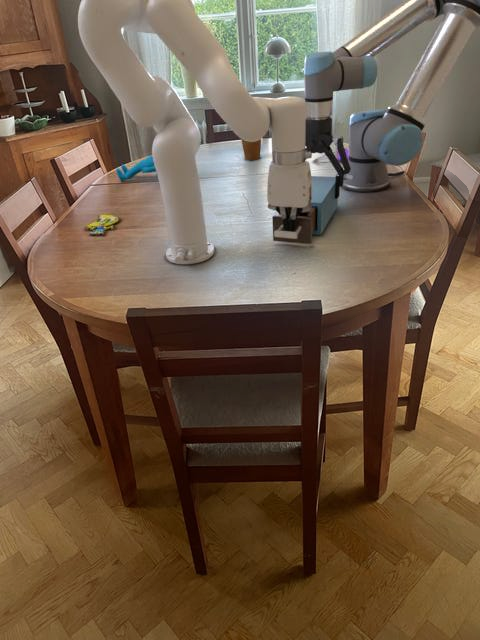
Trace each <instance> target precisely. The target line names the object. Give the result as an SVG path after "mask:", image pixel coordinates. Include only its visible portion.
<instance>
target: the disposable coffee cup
mask: <svg viewBox="0 0 480 640" xmlns="http://www.w3.org/2000/svg"><path fill="white" fill-rule="evenodd" d="M240 140H241V144H242V150H243V155H244V159H245V160H248V161H252V160H258V159H260V158H261V147H262V146H261V145H262V138H261V139H260V140H258V141H255V142H248V141H245V140H243V139H241V138H240Z"/></svg>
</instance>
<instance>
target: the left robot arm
mask: <svg viewBox="0 0 480 640" xmlns="http://www.w3.org/2000/svg"><path fill="white" fill-rule="evenodd" d="M194 6H195V5H194V4H193V1H192V0H81V1H80V3H79V7H78V13H77V28H78V33H79V37H80V40H81V43H82V45H83V47H84V50H85V51H86V53H87V55H88V56H89V58H90V59H91V61H92V62H93V64H94V65H95V67H96V68H97V69H98V71H99V72H100V73H101V75H102V77H103V78H104V79H105V81H106V83H107V84H108V86H109V88H110V90H111V91H112V92H113V94H114V95H115V97H116V98H117V99H118V101H119V102H120V104H121V105H122V106H123V108H124V110H125V111H126V112H127V115H128V116H129V117H130V119H131V120H132V121H133V122H134V123H135V124H137V125H138V126H140V127H142V128H151V127H152V128H153V130H154V131H155V132H156V135H155V137H154V139H153V140H152V141H153V142H152V147H151V155H152V156H153V161H154V165H155V168H156V172H155V173H156V174H157V175H158V177H157V178H158V183H159V188H160V194H161V199H162V204H163V210H164V216H165V222H166V223H165V224H166V228H167V234H168V240H169V247H168V248H167V250H166V251H165V257H166V260H167V261H169V262H170V263H173V264H176V265H193V264H199V263H203V262H205V261H207V260H208V259H210V258H211V257H213V255H214V254H215V246H214V244H212V243H210V242H209V241H208V236H207V228H206V221H205V214H204V213H205V212H204V203H203V197H202V189H201V182H200V176H199V171H198V167H197V160H196V155H197V154H198V152H199V150H200V147H201V144H202V135H201V131H200V129H199V127H198V125H197V123H196V122H195V120H194V119H193V117H192V115H191V113H190V112H189V110H188V109H187V107H186V105H185V104H184V102H183V101H182V99H181V98H180V96H179V95H178V92H177V91H176V90H175V89H174V87H173V86H172V85H171V83H169V82H168V81H167V80H166V79H165V78H163V77H161V76H158V75H150V73H149V71H148V70H147V69H146V67H145V66H144V64H143V63H142V61H141V59H140V57H139V56H138V54H137V53H136V52H135V50H134V49H133V48H132V46H131V45H130V44H129V43H128V42H127V40H126V38H125V36H124V32H132V33H133V32H134V33H142V34H143V33H144V34H153V35H157V37H158V39H160V40H161V42H162V43H163V44H164V45H165V46H166V47H167V48H168V50H169V51H170V52H171V53H172V54H173V56H174V57H175V58H176V59H177V60H178V61H179V62H180V64H181V65H182V66H183V68H185V70H186V71H187V73H188V74H189V75H190V76H191V77H192V78H193V80H194V81H195V83H196V84H197V86H198V88H199V89H200V91H201V92H202V93H203V95H204V96H205V98H206V99H207V100H208V103H210V105H211V107H212V108H213V109H214V111H215V113H216V114H218V116H219V117H220V118H221V119H222V120H223V122H224V123H225V124H226V126H228V127H229V129H230V130H231V131H232V132H233V133H234V134H235V135H236V136H237V137H238V138H239V139H240V140H241V139H243V140H245V141H248V142H255V141H258V140H260V139H261V140H262V139H263V138H264V137H265V136H266V134H267V132H268V131H270V133H271V134H270V136H271V158H272V160H271V161H270V163H269V167H268V174H267V175H268V176H267V186H266V187H267V188H266V189H267V191H266V192H267V194H266V195H267V196H266V197H267V208H268V209H269V210H272V211H276V213H278V215H279V214H280V215H281V218H282V219H283V229H284V230H285V231H290V232H294V231H295V230H296V228H297V216H298V215H299V214H300V213H301V212H308V211H310V210H311V209H312V205H311V200H312V179H311V176H312V170H311V164H310V162H309V161H308V160H309V159H312V156H313V153H312V152H308V151H307V150H306V148H307V147H306V146H305V119H306V108H305V99H304V98H302V97H299V96H282V97H277V98H273V97H272V98H271V97H260V96H259V97H258V96H252V94H251V93H250V92H249V91H248V89H247V88H246V87H245V86H244V84H243V82H241V80H240V79H239V77H238V76H237V73H236V72H235V70H234V68H233V67H232V64H231V61H230V58H229V56H228V54H227V51H226V50H225V48H224V46H223V45H222V44H221V42H220V41H219V40H218V39H217V38H216V37H215V35H214V34H213V33H212V32H211V30H210V29H209V28H208V27H207V25H206V24H205V23H204V21H202V19H201V17H199V15H198V14H197V13H196V10H195V7H194ZM288 207H292V210H291V216H290V214H289V210H288Z"/></svg>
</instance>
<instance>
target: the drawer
mask: <svg viewBox="0 0 480 640" xmlns="http://www.w3.org/2000/svg"><path fill="white" fill-rule="evenodd" d="M288 210H289V214H290V216H291V210H292V207H288ZM317 212H318V207H317V206H312V209H311V210H310V211H308V212H301V213H300V214H299V215H298V216H297V228H296V230H295V231H294V232H290V231H285V230H284V229H283V219H282V218H281V215H280V214H279V213H278V214H277V213H275V214H273V215H272V217H271V219H272V221H271V222H272V240H273V242H283V243H293V244H305V245H312V244H313V235H314V234H313V232H314V231H315V229H316V227H317Z"/></svg>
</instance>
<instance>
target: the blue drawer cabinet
mask: <svg viewBox="0 0 480 640" xmlns="http://www.w3.org/2000/svg"><path fill="white" fill-rule="evenodd" d="M311 179H312V200H311V205H312V206H317V207H318V212H317V227H316V229H315V231H314V232H313V234H312V235H316V236H322V234H323V232H324V230H325V229H326V227H327V225H328V223H329V221H330V220H331V218H332V216H333V215H334V213H335V212H336V210H337V208H338V204H339V203H338V202H339V198H338V199H335V182H336V176H322V175H321V176H319V175H311Z"/></svg>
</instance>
